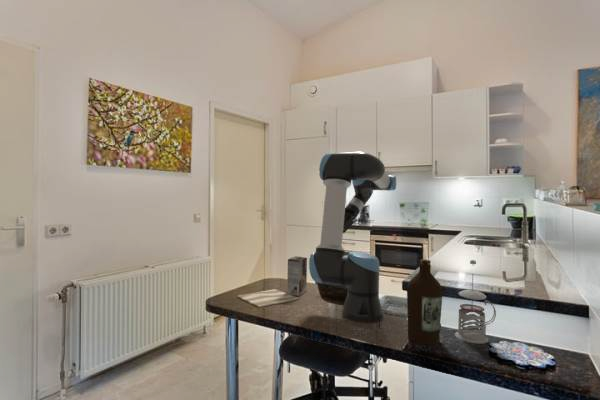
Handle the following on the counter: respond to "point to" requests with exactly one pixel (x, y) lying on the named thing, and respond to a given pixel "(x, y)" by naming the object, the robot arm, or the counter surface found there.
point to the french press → (473, 317)
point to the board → (267, 298)
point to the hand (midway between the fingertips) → (330, 241)
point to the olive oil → (424, 306)
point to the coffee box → (297, 276)
